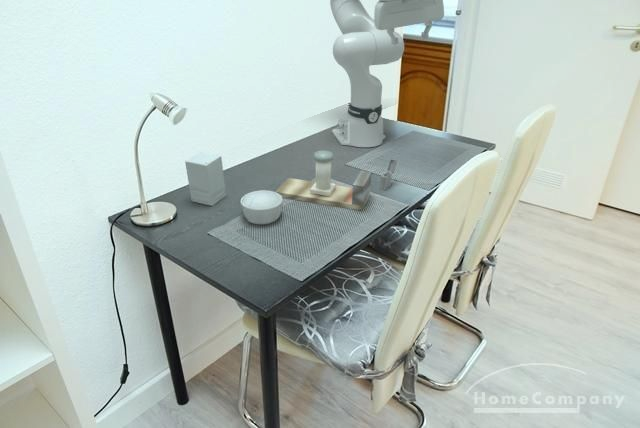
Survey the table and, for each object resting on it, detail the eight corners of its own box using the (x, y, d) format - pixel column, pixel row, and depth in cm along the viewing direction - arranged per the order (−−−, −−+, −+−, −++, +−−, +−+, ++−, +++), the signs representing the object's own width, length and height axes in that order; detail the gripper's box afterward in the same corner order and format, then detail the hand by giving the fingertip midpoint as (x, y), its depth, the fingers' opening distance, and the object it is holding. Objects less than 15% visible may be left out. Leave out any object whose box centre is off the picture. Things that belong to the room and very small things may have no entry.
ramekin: (238, 210, 125) (236, 193, 122) (276, 203, 129) (275, 187, 126) (247, 230, 116) (245, 212, 113) (288, 222, 120) (288, 205, 117)
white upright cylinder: (310, 193, 130) (309, 156, 124) (316, 184, 135) (316, 148, 129) (329, 196, 129) (330, 159, 123) (335, 187, 133) (336, 151, 128)
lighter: (384, 190, 136) (386, 166, 132) (379, 189, 137) (381, 164, 133) (395, 182, 141) (397, 158, 137) (390, 180, 142) (392, 157, 138)
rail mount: (275, 196, 132) (274, 173, 128) (288, 182, 140) (287, 159, 137) (362, 210, 125) (363, 186, 121) (370, 194, 133) (371, 171, 130)
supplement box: (226, 195, 132) (222, 155, 126) (211, 206, 127) (206, 165, 120) (206, 190, 135) (201, 151, 129) (190, 201, 129) (184, 160, 123)
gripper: (437, -17, 129) (437, 34, 136) (370, -6, 126) (373, 46, 133) (448, -17, 124) (447, 36, 131) (378, -5, 121) (381, 48, 127)
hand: (410, 41), depth 132 cm, fingers open, 8 cm apart
